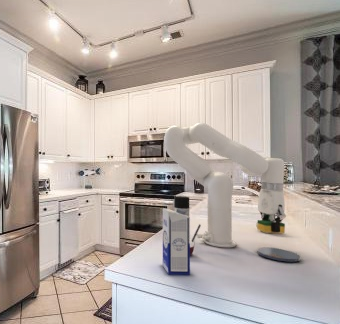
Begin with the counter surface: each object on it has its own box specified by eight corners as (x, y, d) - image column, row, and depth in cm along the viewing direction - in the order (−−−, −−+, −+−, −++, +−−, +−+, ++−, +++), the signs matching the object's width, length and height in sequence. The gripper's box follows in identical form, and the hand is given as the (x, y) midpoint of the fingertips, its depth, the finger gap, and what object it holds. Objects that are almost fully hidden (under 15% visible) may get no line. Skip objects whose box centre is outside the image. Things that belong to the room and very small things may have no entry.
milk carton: (162, 265, 85) (162, 207, 85) (182, 266, 85) (182, 207, 85) (168, 274, 78) (168, 210, 78) (190, 275, 78) (190, 210, 78)
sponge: (265, 232, 103) (265, 222, 103) (257, 229, 108) (257, 220, 108) (284, 233, 103) (284, 223, 103) (275, 230, 108) (276, 220, 108)
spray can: (178, 236, 121) (178, 195, 121) (191, 239, 116) (191, 196, 116) (171, 239, 116) (171, 196, 116) (185, 242, 111) (185, 198, 112)
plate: (272, 263, 88) (272, 258, 88) (249, 250, 101) (249, 247, 101) (310, 263, 88) (310, 259, 88) (282, 251, 101) (282, 247, 101)
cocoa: (171, 253, 97) (171, 222, 97) (177, 249, 102) (177, 220, 102) (196, 260, 91) (196, 226, 91) (202, 255, 95) (202, 224, 96)
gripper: (250, 185, 114) (249, 224, 114) (277, 188, 97) (276, 235, 97) (267, 186, 114) (265, 225, 114) (297, 189, 97) (295, 236, 97)
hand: (270, 229), depth 106 cm, fingers closed on sponge, 5 cm apart
